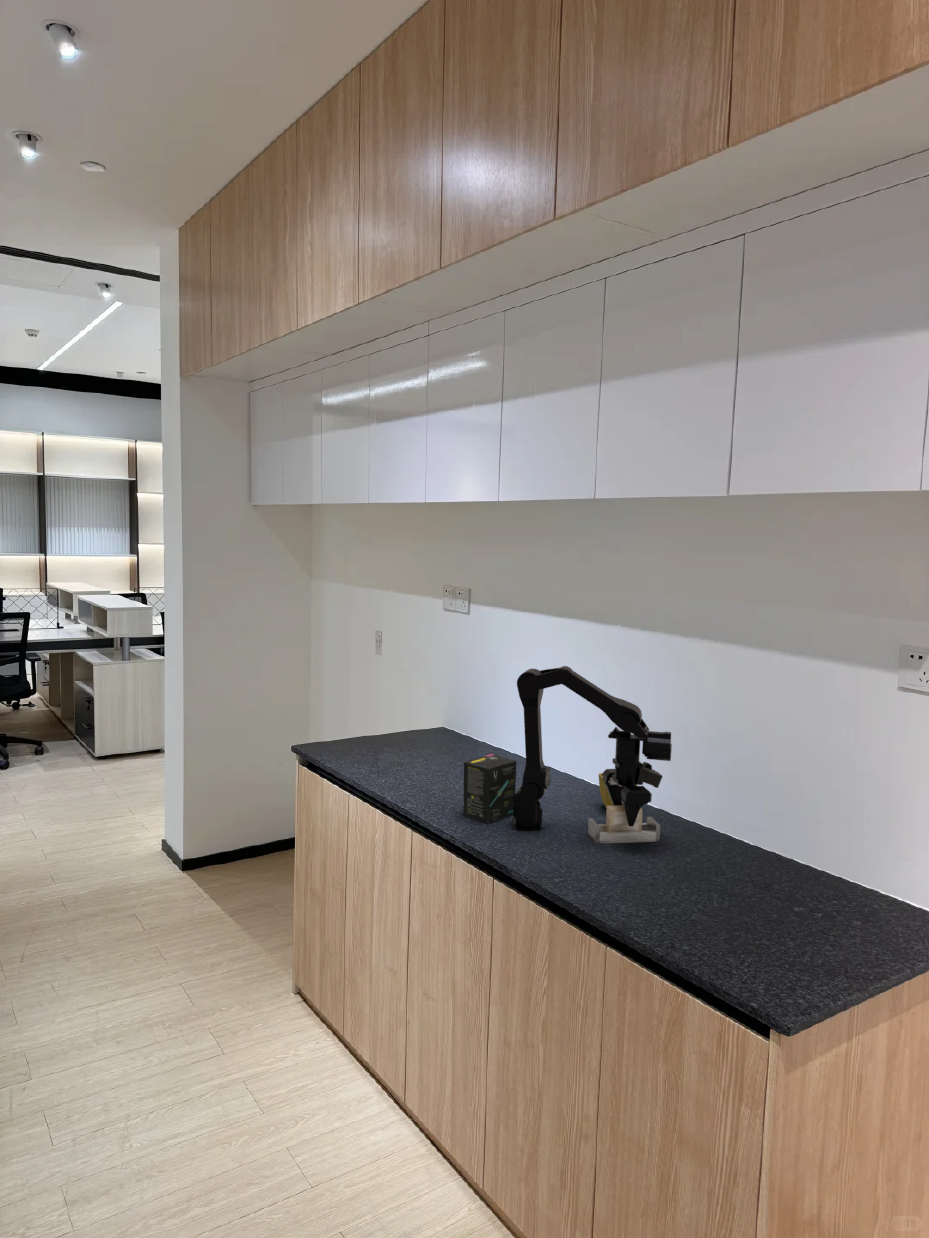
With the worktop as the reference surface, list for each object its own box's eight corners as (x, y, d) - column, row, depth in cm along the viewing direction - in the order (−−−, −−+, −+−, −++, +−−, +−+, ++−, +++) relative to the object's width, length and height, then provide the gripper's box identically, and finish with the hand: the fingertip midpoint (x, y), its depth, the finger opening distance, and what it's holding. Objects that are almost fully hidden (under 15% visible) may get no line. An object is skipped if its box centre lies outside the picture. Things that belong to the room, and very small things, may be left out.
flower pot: (596, 804, 227) (598, 772, 226) (628, 804, 228) (629, 772, 227) (604, 815, 218) (605, 782, 217) (637, 815, 219) (638, 782, 218)
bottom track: (595, 843, 198) (596, 827, 198) (588, 834, 205) (588, 818, 204) (659, 841, 201) (660, 825, 200) (650, 832, 207) (650, 816, 206)
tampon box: (489, 805, 224) (491, 752, 223) (515, 814, 218) (517, 759, 216) (461, 815, 216) (462, 760, 215) (487, 824, 210) (489, 767, 208)
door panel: (609, 838, 200) (610, 810, 200) (605, 833, 204) (606, 805, 203) (641, 837, 202) (642, 809, 201) (637, 832, 205) (638, 805, 204)
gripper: (674, 767, 193) (671, 832, 194) (645, 746, 211) (642, 805, 213) (628, 768, 191) (625, 833, 193) (603, 746, 209) (600, 807, 211)
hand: (624, 819), depth 202 cm, fingers open, 9 cm apart
